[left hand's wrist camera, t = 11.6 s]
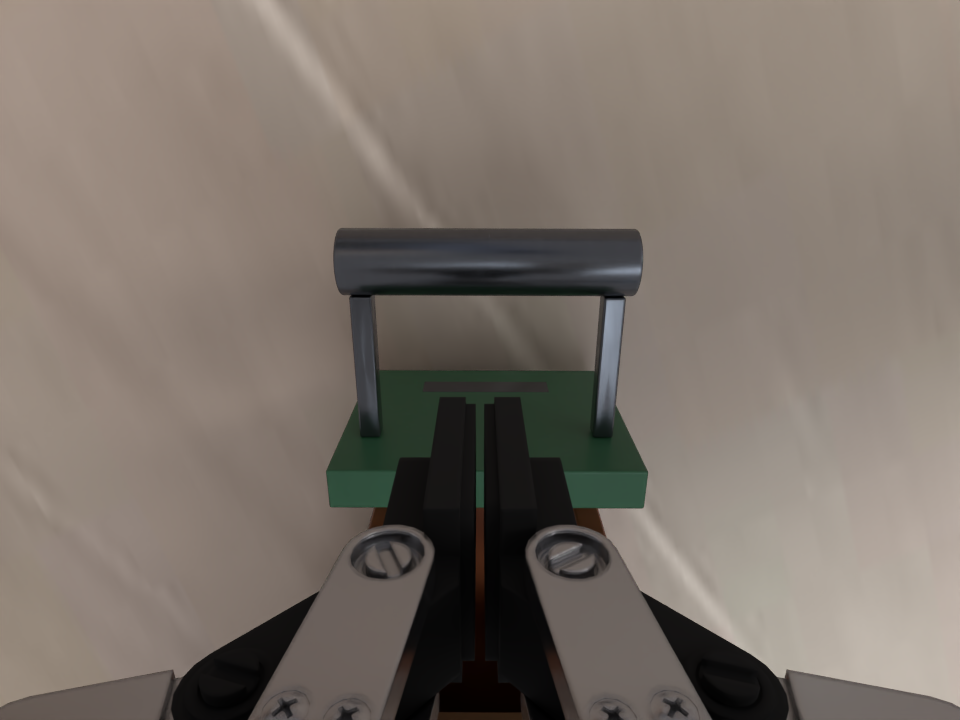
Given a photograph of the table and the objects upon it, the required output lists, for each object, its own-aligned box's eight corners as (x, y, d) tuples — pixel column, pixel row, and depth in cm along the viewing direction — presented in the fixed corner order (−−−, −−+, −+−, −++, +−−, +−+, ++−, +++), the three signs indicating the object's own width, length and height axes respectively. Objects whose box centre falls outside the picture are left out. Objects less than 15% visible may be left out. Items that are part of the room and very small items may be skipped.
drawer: (359, 204, 20) (301, 243, 14) (613, 205, 20) (677, 244, 14) (394, 715, 29) (369, 886, 23) (571, 715, 29) (597, 887, 23)
